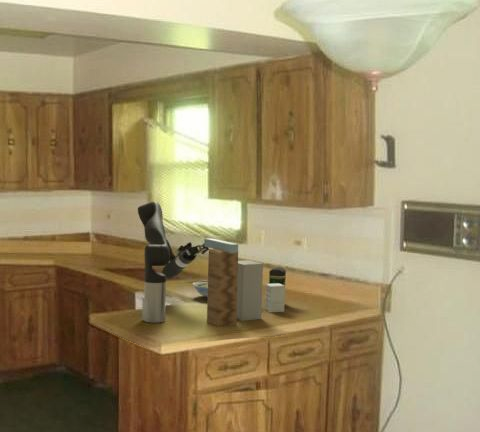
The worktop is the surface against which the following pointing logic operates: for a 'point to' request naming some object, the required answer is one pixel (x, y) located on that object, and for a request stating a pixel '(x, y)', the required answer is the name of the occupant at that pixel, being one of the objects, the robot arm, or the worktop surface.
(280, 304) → the supplement box
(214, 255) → the walnut stand
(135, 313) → the worktop surface
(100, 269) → the worktop surface
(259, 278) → the grey step
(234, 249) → the blue bar
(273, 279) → the coffee jar
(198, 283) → the ramen bowl
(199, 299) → the worktop surface
